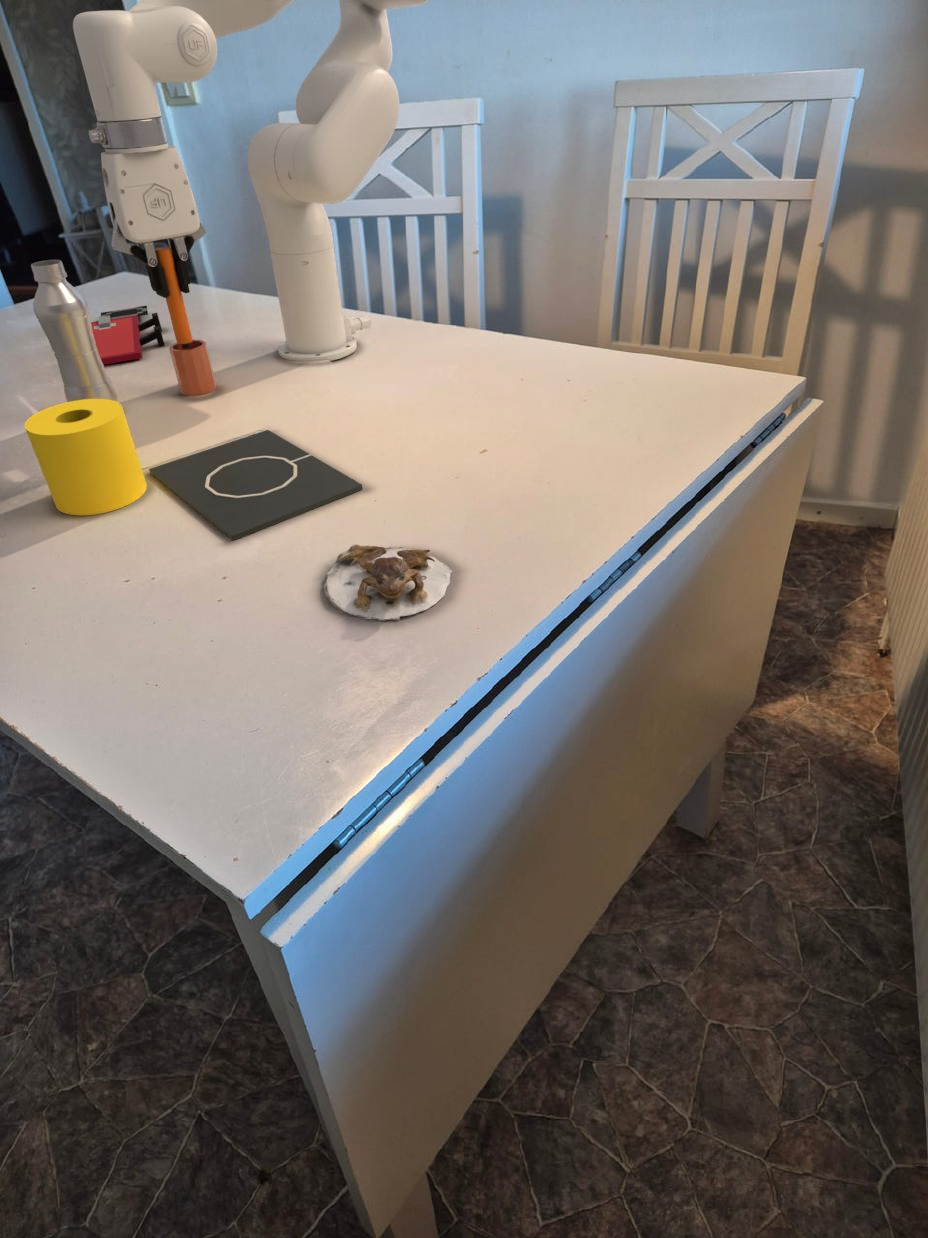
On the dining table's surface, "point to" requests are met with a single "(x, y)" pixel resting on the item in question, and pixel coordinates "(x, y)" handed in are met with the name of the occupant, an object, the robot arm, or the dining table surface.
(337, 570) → the frog figurine
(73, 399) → the silver bottle
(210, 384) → the pen cup
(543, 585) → the dining table surface
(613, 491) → the dining table surface
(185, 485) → the slate board
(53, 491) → the yellow hollow cylinder
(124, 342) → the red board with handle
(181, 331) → the marker
